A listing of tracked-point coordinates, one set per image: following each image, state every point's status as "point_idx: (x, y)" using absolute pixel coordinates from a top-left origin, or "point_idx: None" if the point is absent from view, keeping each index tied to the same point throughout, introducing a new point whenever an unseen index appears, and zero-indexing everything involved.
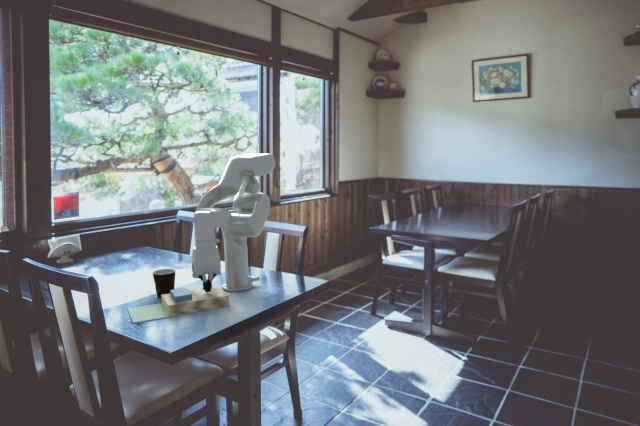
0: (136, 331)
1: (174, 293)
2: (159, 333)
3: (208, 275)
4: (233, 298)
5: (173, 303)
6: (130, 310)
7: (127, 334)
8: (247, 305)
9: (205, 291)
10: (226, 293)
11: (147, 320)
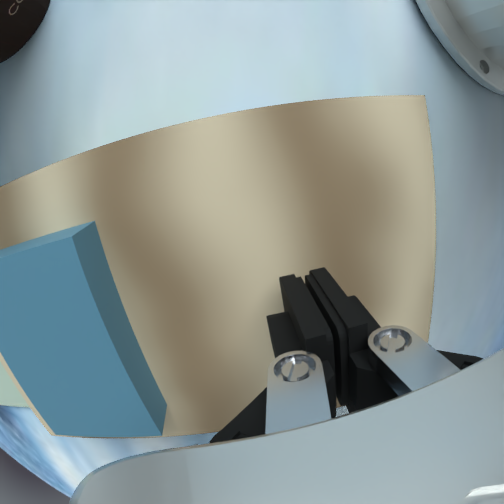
0: (26, 455)
1: (20, 375)
2: None
3: (399, 395)
4: (449, 208)
5: None
6: None
7: (16, 458)
8: (457, 345)
9: (284, 309)
10: (427, 337)
11: (10, 404)
